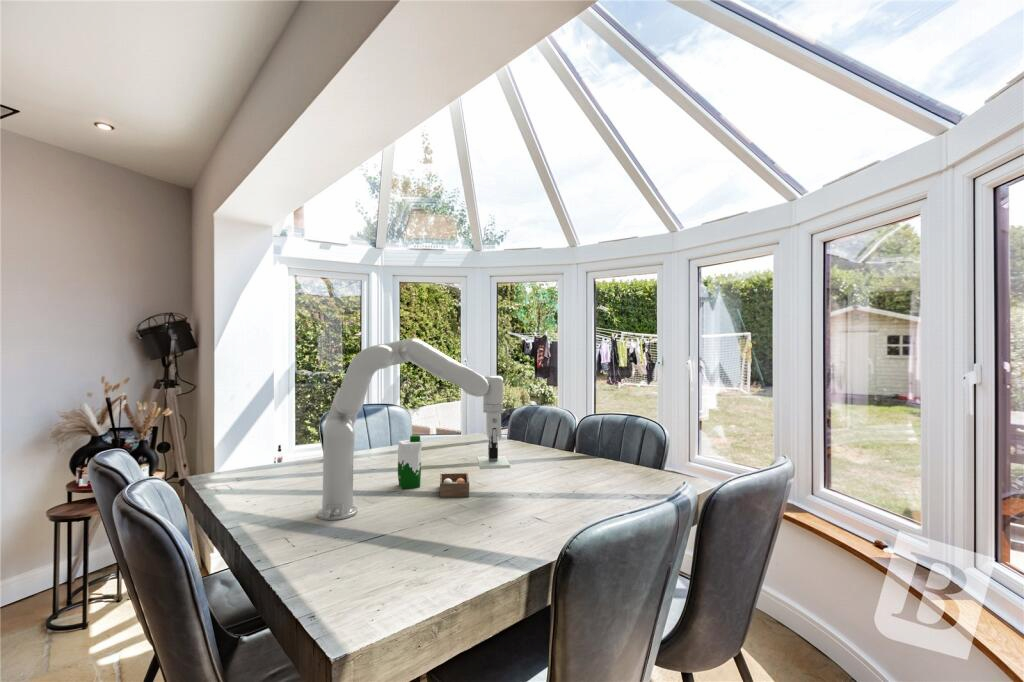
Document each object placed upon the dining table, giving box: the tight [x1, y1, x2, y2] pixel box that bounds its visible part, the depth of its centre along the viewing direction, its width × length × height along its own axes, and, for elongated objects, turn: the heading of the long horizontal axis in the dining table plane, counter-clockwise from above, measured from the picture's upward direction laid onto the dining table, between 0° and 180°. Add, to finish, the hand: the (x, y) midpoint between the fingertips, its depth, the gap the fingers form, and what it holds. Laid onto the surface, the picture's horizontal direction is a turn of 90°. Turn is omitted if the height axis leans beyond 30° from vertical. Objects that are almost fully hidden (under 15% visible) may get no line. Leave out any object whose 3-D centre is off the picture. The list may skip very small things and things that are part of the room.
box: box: [439, 472, 470, 498], centre depth 184 cm, size 15×11×5 cm
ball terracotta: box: [456, 478, 465, 483], centre depth 187 cm, size 4×4×4 cm
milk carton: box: [397, 434, 423, 490], centre depth 191 cm, size 9×9×20 cm
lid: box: [476, 440, 511, 470], centre depth 177 cm, size 15×11×8 cm
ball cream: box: [443, 478, 452, 484], centre depth 187 cm, size 4×4×4 cm
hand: (493, 456), depth 177 cm, fingers closed on lid, 3 cm apart
